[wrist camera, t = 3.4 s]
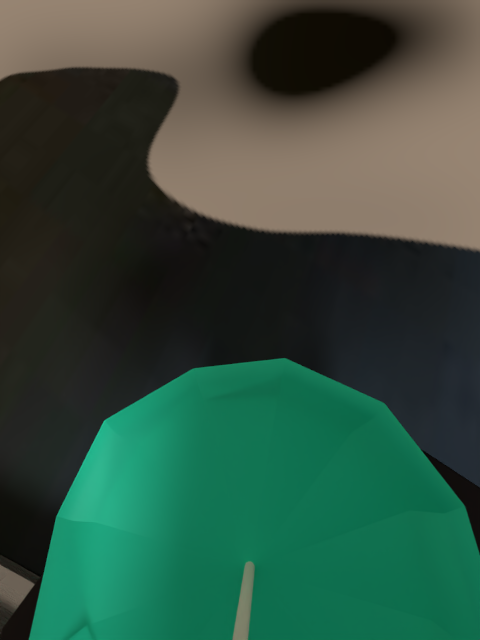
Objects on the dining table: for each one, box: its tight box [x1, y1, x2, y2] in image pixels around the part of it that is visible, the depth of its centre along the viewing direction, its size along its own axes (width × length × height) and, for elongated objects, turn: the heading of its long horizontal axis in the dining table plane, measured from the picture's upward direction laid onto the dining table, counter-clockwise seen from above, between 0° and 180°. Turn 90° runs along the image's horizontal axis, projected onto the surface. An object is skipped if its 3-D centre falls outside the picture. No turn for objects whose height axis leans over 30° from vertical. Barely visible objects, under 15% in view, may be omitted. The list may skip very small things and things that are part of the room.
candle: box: [29, 358, 480, 640], centre depth 8 cm, size 6×6×12 cm
